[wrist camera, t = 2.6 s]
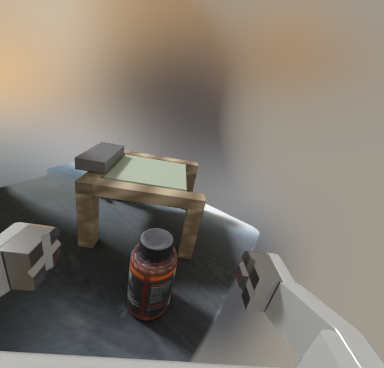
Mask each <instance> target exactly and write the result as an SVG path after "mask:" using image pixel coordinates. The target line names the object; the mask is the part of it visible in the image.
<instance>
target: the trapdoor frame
mask: <svg viewBox="0 0 384 368" xmlns="http://www.w3.org/2000/svg"><path fill="white" fill-rule="evenodd" d="M126 154H127V155H133V156H138V157H144V158H150V159H156V160H162V161H168V162H174V163H180V164H186V187H187V191H180V190H174V189H167V188H161V187H154V186H148V185H141V184H135V183H128V182H122V181H115V180H109V179H104V177H105V175H106V174H107V173H108V172H109V171H110V170H111V169H112V168H113V167H114V166H115V165H116V164H117V163H118V162H119V161H120V160H121V159H122V158H123V157H124V156H125V155H126ZM197 168H198V163H197V162H190V161H185V160H179V159H173V158H167V157H161V156H156V155H150V154H143V153H138V152H132V151H127V150H124V155H123V156H122V157H121V158H120V159H119V160H118V161H117V162H116V163H115V164H114V165H113V166H112V167H111V168H110V169H109V170H108V171H107V172H106V173H105V174H104V173H97V172H91V171H88V172H87V173H85V174H84V175H83V176H82V177H80V178H79V179H78V180H77V181H75V189H76V211H77V232H78V246H81V247H90V248H93V247H94V245H95V244H96V242H97V240H98V231H99V197H105V198H112V199H119V200H126V201H133V202H140V203H147V204H154V205H161V206H168V207H175V208H182V209H186V214H185V219H184V224H183V228H182V233H181V238H180V243H179V248H178V258H186V259H191V258H192V254H193V250H194V246H195V242H196V238H197V234H198V230H199V226H200V222H201V218H202V214H203V210H204V206H205V202H206V200H205V195H204V194H200V193H193V187H194V183H195V178H196V173H197Z"/></svg>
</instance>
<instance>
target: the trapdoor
mask: <svg viewBox="0 0 384 368" xmlns="http://www.w3.org/2000/svg"><path fill="white" fill-rule="evenodd" d="M123 155H124V146H122V145H116V144H110V143H104V142H101V143H100V144H98V145H96V146H94V147H93V148H91V149H89V150H87V151H86V152H84V153H82V154H80V155H79V156H77V157H75V169H78V170H84V171H91V172H97V173H104V174H105V173H106V172H107V171H108V170H109V169H110V168H111V167H112V166H113V165H114V164H115V163H116V162H117V161H118V160H119V159H120V158H121V157H122V156H123ZM104 179H109V180H115V181H122V182H128V183H135V184H141V185H148V186H154V187H161V188H167V189H174V190H180V191H187V187H186V164H180V163H174V162H168V161H162V160H156V159H150V158H144V157H138V156H133V155H127V154H126V155H125V156H124V157H123V158H122V159H121V160H120V161H119V162H118V163H117V164H116V165H115V166H114V167H113V168H112V169H111V170H110V171H109V172H108V173H107V174H106V175H105V177H104Z"/></svg>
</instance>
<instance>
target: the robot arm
mask: <svg viewBox="0 0 384 368" xmlns="http://www.w3.org/2000/svg"><path fill="white" fill-rule="evenodd" d="M59 236H60V229H59V228H57V227H52V226H45V225H38V224H30V223H23V222H17V223H14V224H12V225H11V226H10V227H8V228H7V229H6V230H4V231H3V232H2V233H0V297H1V296H2V295H4V294H6V293H7V292H9V291H10V289H15V290H32V291H35V290H36V289H37V288H38V287H39V285H40V284H41V283H42V281H43V280H44V279H45V277H46V276H47V275H46V271H47V270H48V269H50V268H52V267H54V265H55V264H56V263H57V261H58V259H59V257H60V254H61V249H62V247H61V243H60V242H59V241H58V240H57V239H58V238H59ZM242 259H243V262H242V263H240V264H239V267H238V270H237V281H238V284H239V287H240V288H241V289H242V290H243V292H242V298H243V301H244V305H245V309H246V310H252V311H261V312H265V314H266V315H267V317H269V319H270V320H271V322H272V323H273V324H274V325H275V327H276V328H277V329H278V330H279V331H280V332H281V334H282V335H283V336H284V338H285V339H286V340H287V341H288V343H289V344H290V345H291V346H292V347H293V349H294V350H295V351H296V353H297V354H298V355H299V356H300V358H301V360H300V361H299V363H298V364H297V365H296V367H295V368H384V364H383V363H382V361H381V360H380V359H379V357H378V356H377V354H376V353H375V352H374V351H373V349H372V348H371V347H370V345H369V344H368V342H367V341H366V340H365V338H364V337H363V336H362V334H361V333H360V332H359V331H358V330H357V329H355V328H354V327H353V326H352V325H350V324H349V323H348V322H347V321H345V320H344V319H343V318H341V317H340V316H339V315H338V314H336V313H335V312H334V311H333V310H331V309H330V308H329V307H328V306H326V305H325V304H324V303H323V302H321V301H320V300H319V299H317V298H316V297H315V296H314V295H312V294H311V293H310V292H309V291H307V290H306V289H305V288H303V287H302V286H301V285H300V284H296V283H295V281H294V280H293V278H292V276H291V275H290V273H289V271H288V270H287V268H286V267H285V265H284V263H283V261H282V260H281V258H280V256H279V255H277V254H272V253H261V252H252V251H245V252H244V253H243V256H242ZM0 368H281V367H265V366H247V365H246V366H245V365H229V364H213V363H212V364H211V363H196V362H179V361H162V360H145V359H128V358H111V357H94V356H76V355H59V354H42V353H24V352H7V351H0Z"/></svg>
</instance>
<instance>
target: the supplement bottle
mask: <svg viewBox="0 0 384 368" xmlns="http://www.w3.org/2000/svg"><path fill="white" fill-rule="evenodd" d="M177 261H178V256H177V252H176V250H175V248H174V247H173V236H172V235H171V234H170V233H169V232H168V231H166V230H164V229H159V228H152V229H149V230H146V231H145V232H143V233H142V235H141V237H140V243H139V244H137V245H136V246H135V247H134V249H133V250H132V253H131V257H130V266H129V278H128V291H127V306H128V309H129V311H130V312H131V314H132V315H133V316H134V317H136V318H138V319H141V320H153V319H156V318H158V317H160V316H161V315H162V314H163V313H164V312H165V311H166V309H167V307H168V305H169V301H170V296H171V292H172V286H173V282H174V277H175V271H176V267H177Z"/></svg>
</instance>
